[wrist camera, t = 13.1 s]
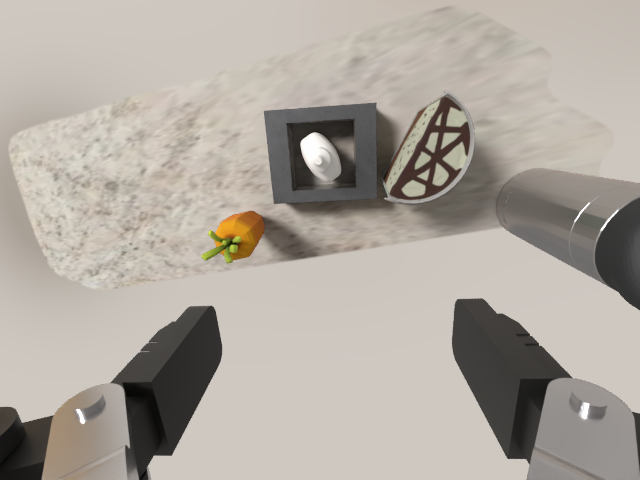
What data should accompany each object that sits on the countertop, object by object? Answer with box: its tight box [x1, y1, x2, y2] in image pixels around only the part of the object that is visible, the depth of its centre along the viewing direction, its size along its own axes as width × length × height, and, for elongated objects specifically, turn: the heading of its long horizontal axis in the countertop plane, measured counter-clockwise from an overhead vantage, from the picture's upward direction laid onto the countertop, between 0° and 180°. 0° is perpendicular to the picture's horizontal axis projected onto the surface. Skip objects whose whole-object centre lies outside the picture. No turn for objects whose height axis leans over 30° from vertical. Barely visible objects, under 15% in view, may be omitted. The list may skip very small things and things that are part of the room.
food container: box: [381, 90, 475, 205], centre depth 37 cm, size 12×6×10 cm, turn 154°
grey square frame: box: [264, 103, 377, 204], centre depth 40 cm, size 13×11×4 cm
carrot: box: [201, 211, 265, 263], centre depth 38 cm, size 5×5×15 cm
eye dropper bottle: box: [300, 132, 341, 182], centre depth 36 cm, size 4×6×12 cm
